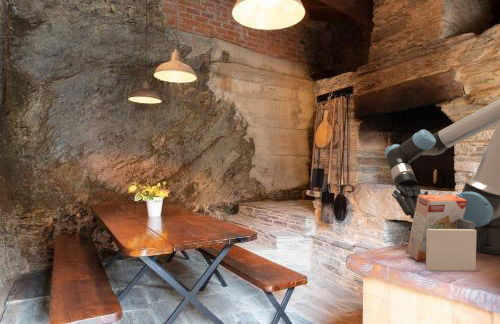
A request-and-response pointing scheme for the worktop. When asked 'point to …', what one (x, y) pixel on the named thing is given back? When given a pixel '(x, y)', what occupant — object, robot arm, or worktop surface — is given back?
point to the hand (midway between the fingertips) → (424, 231)
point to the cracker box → (433, 220)
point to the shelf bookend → (452, 248)
